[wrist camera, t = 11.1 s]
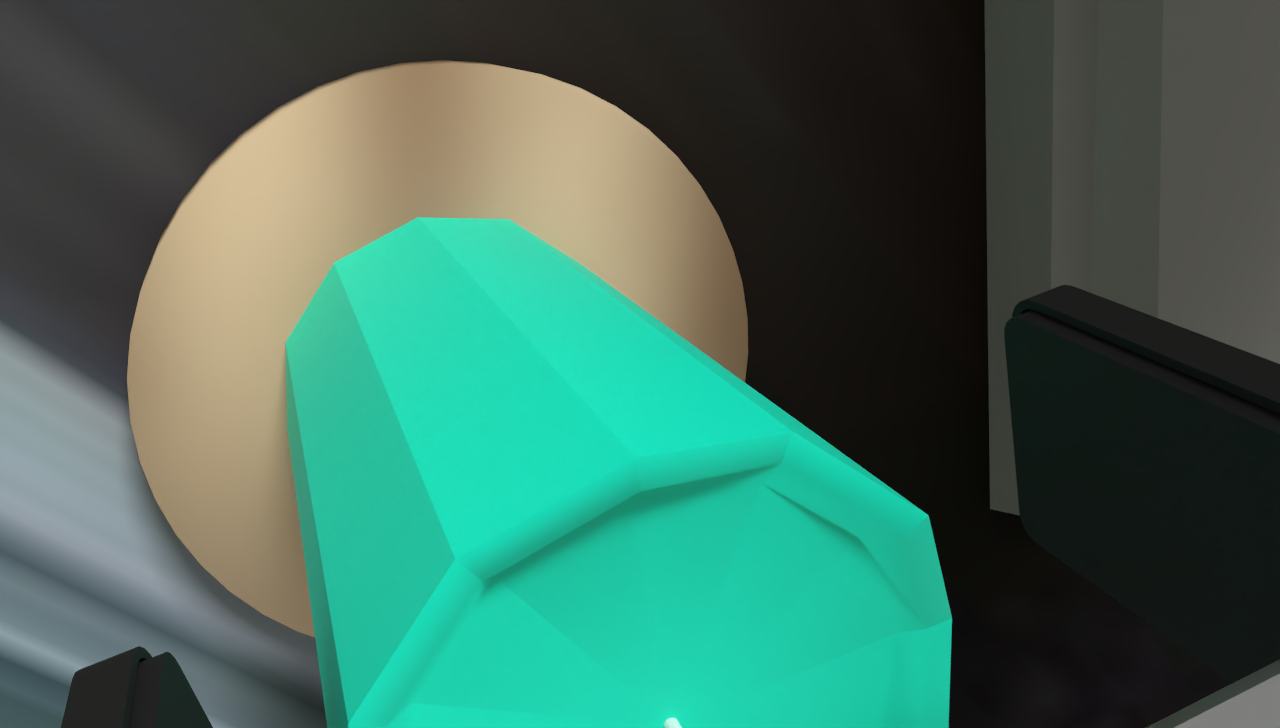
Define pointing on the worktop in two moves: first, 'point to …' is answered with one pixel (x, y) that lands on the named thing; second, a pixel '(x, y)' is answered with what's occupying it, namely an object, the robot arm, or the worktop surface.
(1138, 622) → the worktop surface
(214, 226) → the disc
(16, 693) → the worktop surface
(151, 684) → the robot arm
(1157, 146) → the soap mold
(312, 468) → the candle
